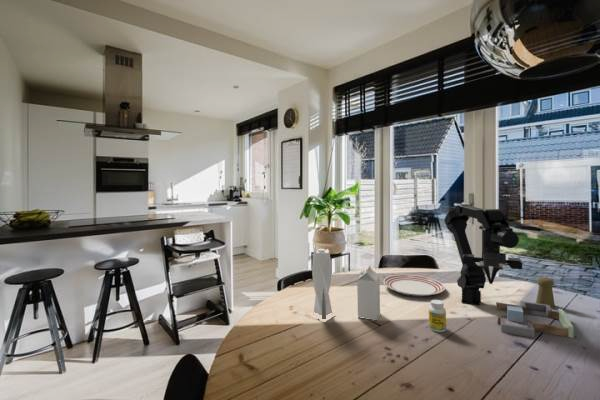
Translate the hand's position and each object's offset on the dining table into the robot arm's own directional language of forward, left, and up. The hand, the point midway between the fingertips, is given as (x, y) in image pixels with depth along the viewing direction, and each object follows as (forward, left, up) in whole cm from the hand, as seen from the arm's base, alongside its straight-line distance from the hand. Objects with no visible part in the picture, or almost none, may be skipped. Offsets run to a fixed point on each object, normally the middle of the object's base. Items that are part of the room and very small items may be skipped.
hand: (490, 283), depth 114 cm
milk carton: (-40, -22, -12) cm, 47 cm away
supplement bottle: (-16, -21, -12) cm, 29 cm away
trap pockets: (+12, 0, -12) cm, 17 cm away
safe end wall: (+22, 0, -12) cm, 25 cm away
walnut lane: (+12, 0, -12) cm, 17 cm away
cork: (+19, +20, -12) cm, 30 cm away
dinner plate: (-31, +16, -12) cm, 37 cm away
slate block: (+8, 0, -12) cm, 14 cm away
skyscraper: (-56, -30, -12) cm, 65 cm away
